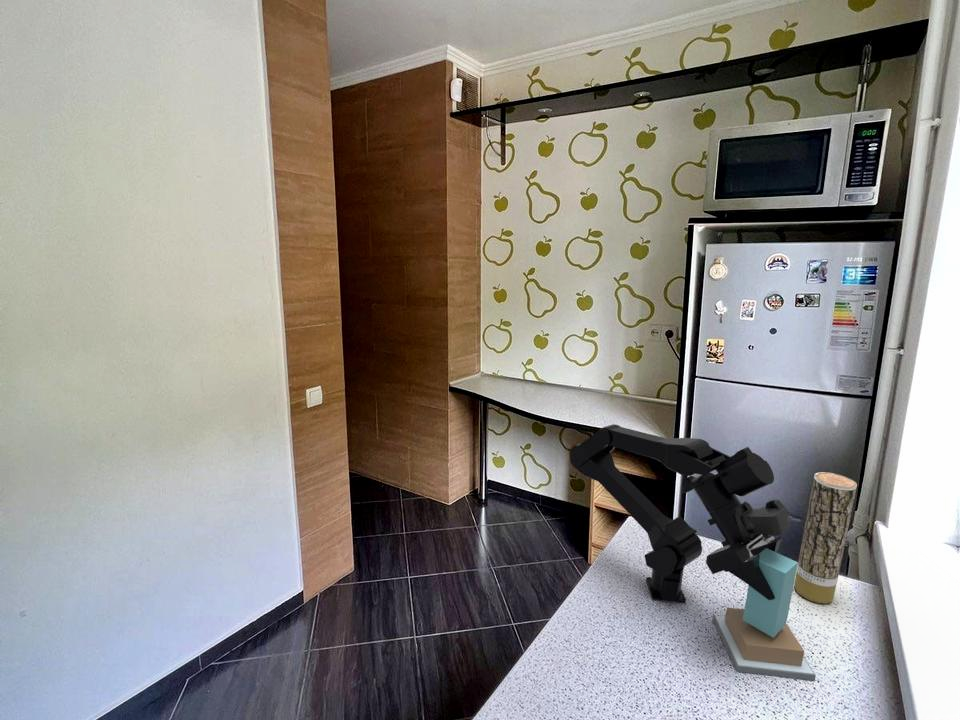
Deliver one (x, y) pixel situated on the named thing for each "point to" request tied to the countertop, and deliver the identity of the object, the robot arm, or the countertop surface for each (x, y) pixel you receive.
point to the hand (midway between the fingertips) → (779, 593)
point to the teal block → (781, 581)
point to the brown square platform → (761, 648)
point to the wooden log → (824, 536)
